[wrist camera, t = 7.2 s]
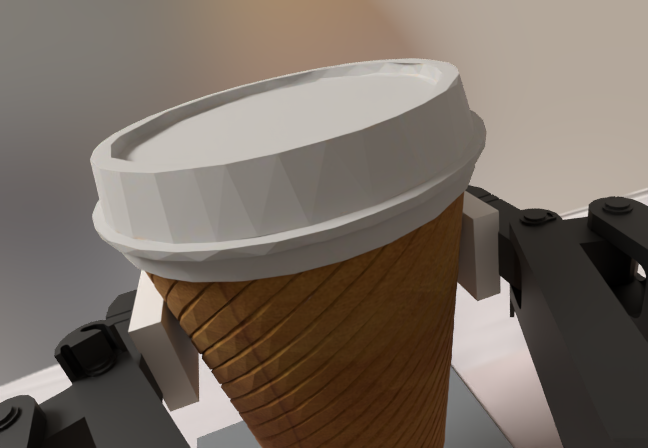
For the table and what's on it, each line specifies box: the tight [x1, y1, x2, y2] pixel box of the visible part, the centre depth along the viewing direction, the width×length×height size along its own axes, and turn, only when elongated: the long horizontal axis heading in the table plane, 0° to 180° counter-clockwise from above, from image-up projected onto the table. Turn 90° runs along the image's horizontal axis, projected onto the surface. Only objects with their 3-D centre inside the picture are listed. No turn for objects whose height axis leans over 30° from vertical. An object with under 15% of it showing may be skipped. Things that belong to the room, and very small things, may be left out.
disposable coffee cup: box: [90, 58, 486, 448], centre depth 13 cm, size 10×10×12 cm
